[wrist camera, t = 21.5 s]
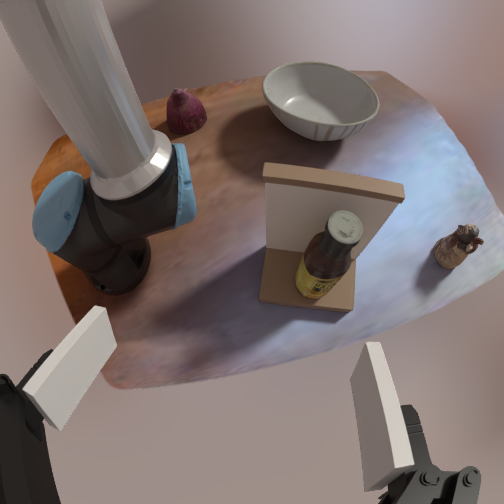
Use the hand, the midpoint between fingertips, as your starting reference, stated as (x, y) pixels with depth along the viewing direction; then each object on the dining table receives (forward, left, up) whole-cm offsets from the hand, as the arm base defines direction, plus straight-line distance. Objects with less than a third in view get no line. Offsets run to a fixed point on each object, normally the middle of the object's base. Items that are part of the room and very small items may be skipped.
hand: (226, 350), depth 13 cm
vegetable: (-56, +19, -34) cm, 68 cm away
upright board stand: (-5, +16, -34) cm, 38 cm away
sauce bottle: (-4, +15, -31) cm, 35 cm away
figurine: (+10, +44, -34) cm, 57 cm away
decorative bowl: (-34, +44, -34) cm, 65 cm away
